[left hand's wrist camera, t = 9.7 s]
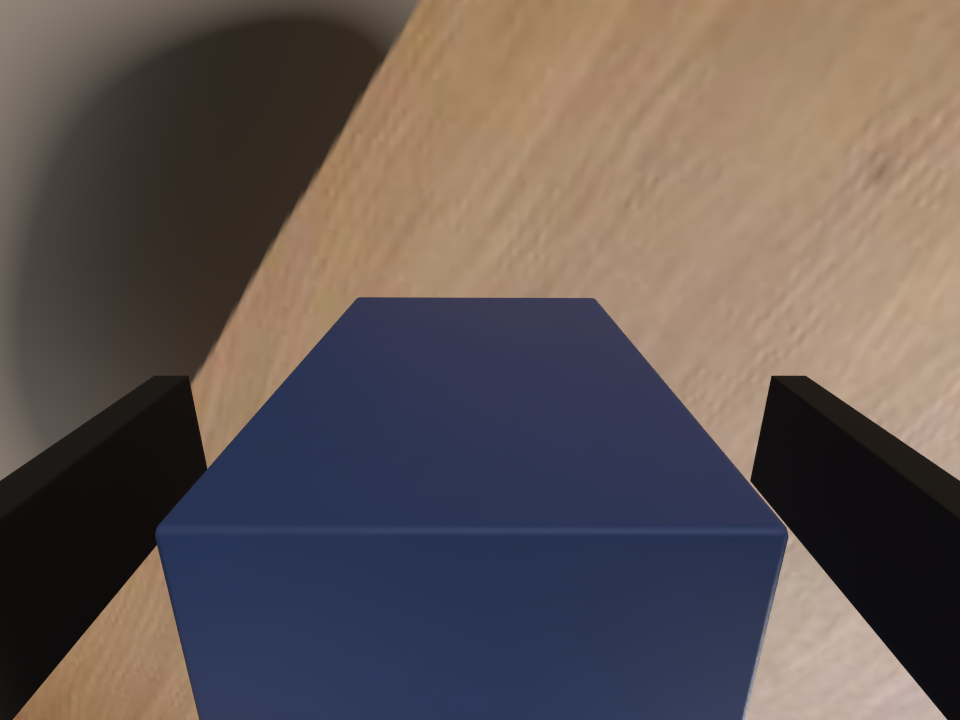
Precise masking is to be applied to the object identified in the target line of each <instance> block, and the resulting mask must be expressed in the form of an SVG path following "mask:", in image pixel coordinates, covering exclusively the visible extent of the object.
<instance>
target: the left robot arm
mask: <svg viewBox="0 0 960 720" xmlns="http://www.w3.org/2000/svg"><path fill="white" fill-rule="evenodd" d="M206 470H207V465H206V460H205V455H204V450H203V446H202V441H201V436H200V431H199V426H198V421H197V416H196V411H195V406H194V401H193V396H192V391H191V386H190V381H189V377H188V376H153V377H152V378H150V379H149V380H147V381H146V382H145V383H143V384H142V385H140V386H139V387H137V388H136V389H134V390H133V391H131V392H130V393H128V394H127V395H125V396H124V397H123V398H121V399H120V400H118V401H117V402H115V403H114V404H112V405H111V406H109V407H108V408H106V409H105V410H103V411H102V412H101V413H99V414H98V415H96V416H95V417H93V418H92V419H90V420H89V421H87V422H86V423H84V424H83V425H82V426H80V427H79V428H77V429H76V430H74V431H73V432H71V433H70V434H68V435H67V436H65V437H64V438H62V439H61V440H60V441H58V442H57V443H55V444H54V445H52V446H51V447H49V448H48V449H46V450H45V451H43V452H42V453H40V454H39V455H38V456H36V457H35V458H33V459H32V460H30V461H29V462H27V463H26V464H24V465H23V466H21V467H20V468H18V469H17V470H16V471H14V472H13V473H11V474H10V475H8V476H7V477H5V478H4V479H2V480H1V481H0V720H13V719H14V717H15V716H16V715H17V714H18V712H19V711H20V710H21V709H22V708H23V706H24V705H25V704H26V703H27V702H28V700H29V699H30V698H31V697H32V696H33V694H34V693H35V692H36V691H37V689H38V688H39V687H40V686H41V685H42V683H43V682H44V681H45V680H46V679H47V677H48V676H49V675H50V674H51V673H52V671H53V670H54V669H55V668H56V666H57V665H58V664H59V663H60V662H61V660H62V659H63V658H64V657H65V656H66V654H67V653H68V652H69V651H70V650H71V648H72V647H73V646H74V645H75V643H76V642H77V641H78V640H79V639H80V637H81V636H82V635H83V634H84V633H85V631H86V630H87V629H88V628H89V627H90V625H91V624H92V623H93V622H94V620H95V619H96V618H97V617H98V616H99V614H100V613H101V612H102V611H103V610H104V608H105V607H106V606H107V605H108V604H109V602H110V601H111V600H112V599H113V597H114V596H115V595H116V594H117V593H118V591H119V590H120V589H121V588H122V587H123V585H124V584H125V583H126V582H127V580H128V579H129V578H130V577H131V576H132V574H133V573H134V572H135V571H136V570H137V568H138V567H139V566H140V565H141V564H142V562H143V561H144V560H145V559H146V557H147V556H148V555H149V554H150V553H151V551H152V550H153V549H154V548H155V547H156V545H157V542H156V538H155V534H156V529H157V526H158V525H159V524H160V523H161V522H162V520H163V519H164V518H165V517H166V516H167V515H168V514H169V512H170V511H171V510H172V509H173V508H174V507H175V506H176V504H177V503H178V502H179V501H180V500H181V499H182V498H183V496H184V495H185V494H186V493H187V492H188V491H189V490H190V488H191V487H192V486H193V485H194V484H195V483H196V482H197V480H198V479H199V478H200V477H201V476H202V475H203V474H204V472H205V471H206ZM750 481H751V482H752V484H753V485H754V486H755V487H756V488H757V490H758V491H759V492H760V493H761V495H762V496H763V497H764V498H765V499H766V501H767V502H768V503H769V504H770V505H771V507H772V508H773V509H774V510H775V511H776V513H777V514H778V515H779V516H780V518H781V519H782V520H783V521H784V522H785V524H786V525H787V526H788V527H789V528H790V530H791V531H792V532H793V533H794V534H795V536H796V537H797V538H798V539H799V541H800V542H801V543H802V544H803V545H804V547H805V548H806V549H807V550H808V551H809V553H810V554H811V555H812V556H813V557H814V559H815V560H816V561H817V562H818V564H819V565H820V566H821V567H822V568H823V570H824V571H825V572H826V573H827V574H828V576H829V577H830V578H831V579H832V580H833V582H834V583H835V584H836V585H837V587H838V588H839V589H840V590H841V591H842V593H843V594H844V595H845V596H846V597H847V599H848V600H849V601H850V602H851V604H852V605H853V606H854V607H855V608H856V610H857V611H858V612H859V613H860V614H861V616H862V617H863V618H864V619H865V620H866V622H867V623H868V624H869V625H870V627H871V628H872V629H873V630H874V631H875V633H876V634H877V635H878V636H879V637H880V639H881V640H882V641H883V642H884V643H885V645H886V646H887V647H888V648H889V650H890V651H891V652H892V653H893V654H894V656H895V657H896V658H897V659H898V660H899V662H900V663H901V664H902V665H903V666H904V668H905V669H906V670H907V671H908V673H909V674H910V675H911V676H912V677H913V679H914V680H915V681H916V682H917V683H918V685H919V686H920V687H921V688H922V689H923V691H924V692H925V693H926V694H927V696H928V697H929V698H930V699H931V700H932V702H933V703H934V704H935V705H936V706H937V708H938V709H939V710H940V711H941V712H942V714H943V715H944V716H945V717H946V719H947V720H960V481H959V480H958V479H956V478H955V477H953V476H952V475H950V474H949V473H947V472H946V471H944V470H943V469H942V468H940V467H939V466H937V465H936V464H934V463H933V462H931V461H930V460H928V459H927V458H925V457H924V456H922V455H921V454H920V453H918V452H917V451H915V450H914V449H912V448H911V447H909V446H908V445H906V444H905V443H903V442H902V441H900V440H899V439H898V438H896V437H895V436H893V435H892V434H890V433H889V432H887V431H886V430H884V429H883V428H881V427H880V426H879V425H877V424H876V423H874V422H873V421H871V420H870V419H868V418H867V417H865V416H864V415H862V414H861V413H859V412H858V411H857V410H855V409H854V408H852V407H851V406H849V405H848V404H846V403H845V402H843V401H842V400H840V399H839V398H837V397H836V396H835V395H833V394H832V393H830V392H829V391H827V390H826V389H824V388H823V387H821V386H820V385H818V384H817V383H815V382H814V381H813V380H811V379H810V378H808V377H807V376H771V381H770V386H769V391H768V396H767V401H766V406H765V411H764V416H763V421H762V426H761V431H760V436H759V441H758V446H757V450H756V455H755V460H754V465H753V470H752V475H751V480H750Z"/></svg>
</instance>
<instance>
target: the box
mask: <svg viewBox="0 0 960 720" xmlns="http://www.w3.org/2000/svg"><path fill="white" fill-rule="evenodd" d="M155 538H156V542H157V546H158V550H159V554H160V558H161V563H162V567H163V571H164V575H165V579H166V583H167V588H168V592H169V596H170V600H171V604H172V608H173V612H174V617H175V621H176V625H177V629H178V633H179V637H180V642H181V646H182V650H183V654H184V658H185V662H186V666H187V671H188V675H189V679H190V683H191V687H192V691H193V695H194V700H195V704H196V708H197V712H198V716H199V720H745V717H746V713H747V709H748V704H749V700H750V696H751V692H752V688H753V683H754V679H755V675H756V671H757V667H758V662H759V658H760V654H761V650H762V646H763V641H764V637H765V633H766V629H767V625H768V620H769V616H770V612H771V608H772V604H773V599H774V595H775V591H776V587H777V583H778V578H779V574H780V570H781V566H782V562H783V557H784V553H785V549H786V545H787V541H788V532H787V529H786V527H785V525H784V524H783V523H782V522H781V521H780V519H779V518H778V517H777V516H776V515H775V513H774V512H773V511H772V510H771V509H770V507H769V506H768V505H767V504H766V503H765V501H764V500H763V499H762V498H761V497H760V496H759V494H758V493H757V492H756V491H755V490H754V488H753V487H752V486H751V485H750V484H749V482H748V481H747V480H746V479H745V478H744V476H743V475H742V474H741V473H740V472H739V470H738V469H737V468H736V467H735V466H734V464H733V463H732V462H731V461H730V460H729V458H728V457H727V456H726V455H725V454H724V452H723V451H722V450H721V449H720V448H719V447H718V445H717V444H716V443H715V442H714V441H713V439H712V438H711V437H710V436H709V435H708V433H707V432H706V431H705V430H704V429H703V427H702V426H701V425H700V424H699V423H698V421H697V420H696V419H695V418H694V417H693V415H692V414H691V413H690V412H689V411H688V409H687V408H686V407H685V406H684V405H683V403H682V402H681V401H680V400H679V399H678V398H677V396H676V395H675V394H674V393H673V392H672V390H671V389H670V388H669V387H668V386H667V384H666V383H665V382H664V381H663V380H662V378H661V377H660V376H659V375H658V374H657V372H656V371H655V370H654V369H653V368H652V366H651V365H650V364H649V363H648V362H647V360H646V359H645V358H644V357H643V356H642V354H641V353H640V352H639V351H638V350H637V349H636V347H635V346H634V345H633V344H632V343H631V341H630V340H629V339H628V338H627V337H626V335H625V334H624V333H623V332H622V331H621V329H620V328H619V327H618V326H617V325H616V323H615V322H614V321H613V320H612V319H611V317H610V316H609V315H608V314H607V313H606V311H605V310H604V309H603V308H602V307H601V305H600V304H599V303H598V302H597V301H596V300H595V299H593V298H372V297H359V298H357V299H356V300H355V301H354V302H353V304H352V305H351V306H350V307H349V308H348V309H347V310H346V312H345V313H344V314H343V315H342V316H341V317H340V318H339V320H338V321H337V322H336V323H335V324H334V325H333V326H332V328H331V329H330V330H329V331H328V332H327V333H326V334H325V336H324V337H323V338H322V339H321V340H320V341H319V342H318V344H317V345H316V346H315V347H314V348H313V349H312V350H311V352H310V353H309V354H308V355H307V356H306V357H305V358H304V360H303V361H302V362H301V363H300V364H299V365H298V366H297V368H296V369H295V370H294V371H293V372H292V373H291V374H290V376H289V377H288V378H287V379H286V380H285V381H284V382H283V383H282V385H281V386H280V387H279V388H278V389H277V390H276V391H275V393H274V394H273V395H272V396H271V397H270V398H269V399H268V401H267V402H266V403H265V404H264V405H263V406H262V407H261V409H260V410H259V411H258V412H257V413H256V414H255V415H254V417H253V418H252V419H251V420H250V421H249V422H248V423H247V425H246V426H245V427H244V428H243V429H242V430H241V431H240V433H239V434H238V435H237V436H236V437H235V438H234V439H233V441H232V442H231V443H230V444H229V445H228V446H227V447H226V449H225V450H224V451H223V452H222V453H221V454H220V455H219V457H218V458H217V459H216V460H215V461H214V462H213V463H212V465H211V466H210V467H209V468H208V469H207V470H206V471H205V472H204V474H203V475H202V476H201V477H200V478H199V479H198V480H197V482H196V483H195V484H194V485H193V486H192V487H191V488H190V490H189V491H188V492H187V493H186V494H185V495H184V496H183V498H182V499H181V500H180V501H179V502H178V503H177V504H176V506H175V507H174V508H173V509H172V510H171V511H170V512H169V514H168V515H167V516H166V517H165V518H164V519H163V520H162V522H161V523H160V524H159V525H158V526H157V529H156V534H155Z"/></svg>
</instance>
